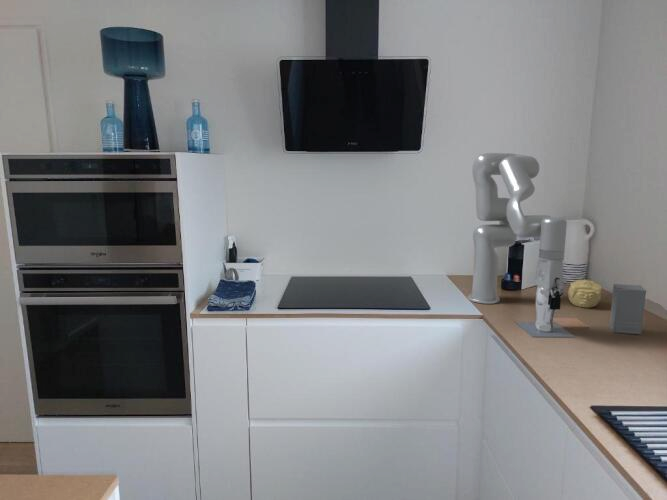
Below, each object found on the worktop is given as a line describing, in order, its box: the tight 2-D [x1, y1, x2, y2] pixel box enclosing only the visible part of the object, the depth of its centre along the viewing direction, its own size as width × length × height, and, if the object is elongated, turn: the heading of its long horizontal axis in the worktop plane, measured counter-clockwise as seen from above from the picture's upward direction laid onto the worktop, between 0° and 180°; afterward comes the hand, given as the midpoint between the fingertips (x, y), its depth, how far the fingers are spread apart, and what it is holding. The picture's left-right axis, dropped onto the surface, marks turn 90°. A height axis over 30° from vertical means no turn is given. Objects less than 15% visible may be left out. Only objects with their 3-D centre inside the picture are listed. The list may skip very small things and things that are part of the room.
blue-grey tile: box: [515, 321, 576, 338], centre depth 154 cm, size 14×14×1 cm
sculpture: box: [567, 279, 603, 309], centre depth 181 cm, size 12×12×11 cm
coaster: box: [553, 317, 590, 329], centre depth 160 cm, size 9×9×1 cm
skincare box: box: [609, 283, 647, 335], centre depth 152 cm, size 8×7×16 cm
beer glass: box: [534, 285, 557, 332], centre depth 152 cm, size 7×7×15 cm
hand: (547, 304), depth 152 cm, fingers open, 9 cm apart
